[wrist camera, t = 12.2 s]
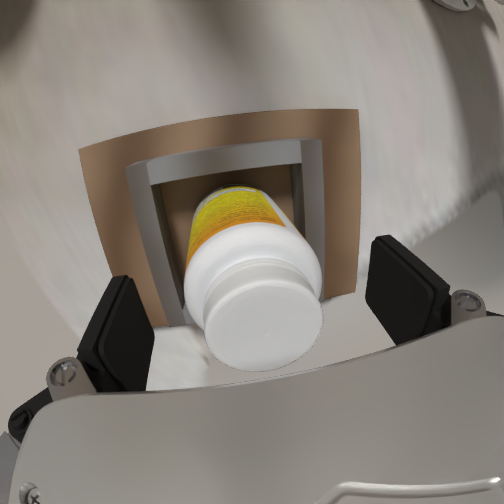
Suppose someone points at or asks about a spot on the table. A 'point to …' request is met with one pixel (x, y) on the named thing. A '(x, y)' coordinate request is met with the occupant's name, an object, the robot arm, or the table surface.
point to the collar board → (215, 176)
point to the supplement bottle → (251, 281)
